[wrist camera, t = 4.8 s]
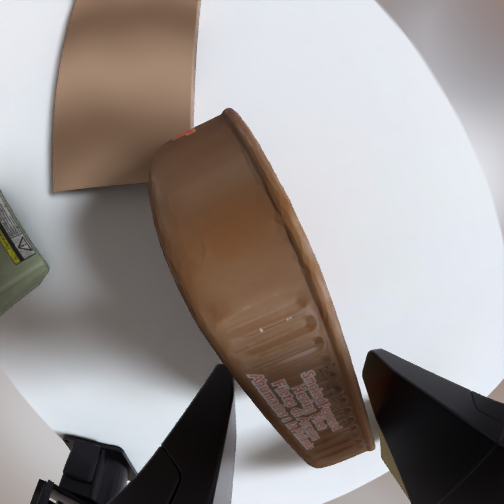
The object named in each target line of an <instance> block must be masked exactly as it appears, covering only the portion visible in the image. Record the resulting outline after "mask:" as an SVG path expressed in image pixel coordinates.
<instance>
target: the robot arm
mask: <svg viewBox="0 0 504 504" xmlns="http://www.w3.org/2000/svg"><path fill="white" fill-rule="evenodd" d="M362 376H363V380H364V383H365V387H366V390H367V393H368V396H369V399H370V402H371V406H372V409H373V412H374V415H375V418H376V420H377V422H378V425H379V427H380V429H381V432H382V434H383V436H384V438H385V441H386V443H387V445H388V448H389V450H390V452H391V455H392V457H393V460H394V462H395V464H396V467H397V469H398V472H399V474H400V477H401V479H402V481H403V484H404V486H405V489H406V492H407V494H408V497H409V499H410V502H411V504H504V404H503V403H500V402H498V401H495V400H492V399H490V398H487V397H485V396H482V395H480V394H478V393H476V392H473V391H470V390H469V389H467V388H464V387H462V386H460V385H458V384H456V383H453V382H451V381H449V380H447V379H445V378H442V377H440V376H438V375H436V374H434V373H432V372H429V371H427V370H425V369H423V368H421V367H419V366H417V365H415V364H413V363H410V362H408V361H406V360H404V359H402V358H400V357H398V356H396V355H394V354H392V353H390V352H388V351H385V350H383V349H374V350H370V351H369V352H368V354H367V357H366V360H365V364H364V368H363V371H362ZM63 441H64V442H65V444H66V445H67V446H68V448H69V449H70V450H71V452H70V454H69V457H68V459H67V462H66V464H65V467H64V470H63V476H62V478H61V481H60V484H59V486H57V485H56V484H54V482H52V481H50V480H48V482H46V481H44V480H41V479H39V482H38V484H37V487H36V489H35V492H34V495H33V497H32V500H31V503H30V504H231V498H232V486H233V474H234V462H235V451H236V415H235V393H234V377H233V376H232V374H231V373H230V372H229V370H228V368H227V367H226V366H225V364H218V365H217V366H216V367H215V369H214V370H213V372H212V373H211V374H210V376H209V377H208V379H207V380H206V382H205V383H204V385H203V386H202V388H201V389H200V390H199V392H198V393H197V395H196V396H195V398H194V399H193V401H192V402H191V403H190V405H189V406H188V408H187V409H186V411H185V412H184V413H183V415H182V416H181V418H180V419H179V420H178V422H177V423H176V425H175V426H174V427H173V429H172V430H171V432H170V433H169V434H168V436H167V437H166V438H165V440H164V441H163V443H162V444H161V446H162V447H161V446H160V447H159V448H158V449H157V451H156V452H155V453H154V455H153V456H152V457H151V459H150V460H149V461H148V462H147V464H146V465H145V466H144V467H143V468H142V470H141V471H140V472H139V473H137V472H136V470H135V469H134V467H133V465H132V464H131V462H130V460H129V459H128V457H127V455H126V454H125V452H124V450H123V449H121V448H119V447H114V446H109V445H104V444H99V443H95V442H90V441H86V440H82V439H78V438H74V437H71V436H67V435H64V436H63ZM127 480H130V482H129V483H128V484H127ZM49 498H52V499H54V500H56V501H57V502H56V503H53V502H52V501H50V500H49Z"/></svg>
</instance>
